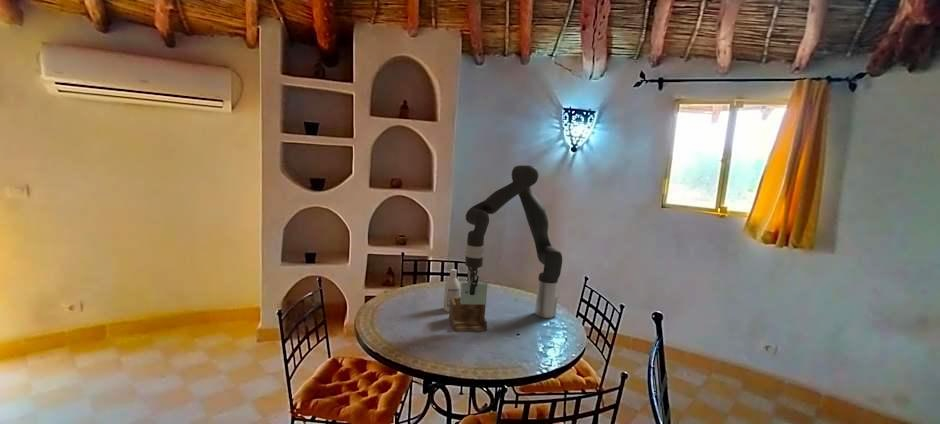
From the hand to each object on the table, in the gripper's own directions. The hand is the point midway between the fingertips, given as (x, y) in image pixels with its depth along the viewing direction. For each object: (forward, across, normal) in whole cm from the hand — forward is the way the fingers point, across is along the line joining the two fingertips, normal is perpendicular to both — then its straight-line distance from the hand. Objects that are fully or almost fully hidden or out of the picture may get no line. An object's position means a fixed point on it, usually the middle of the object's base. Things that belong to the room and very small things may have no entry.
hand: (471, 293), depth 219 cm
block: (+5, 0, -1) cm, 5 cm away
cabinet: (+16, +4, 0) cm, 17 cm away
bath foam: (+16, +21, +5) cm, 27 cm away
